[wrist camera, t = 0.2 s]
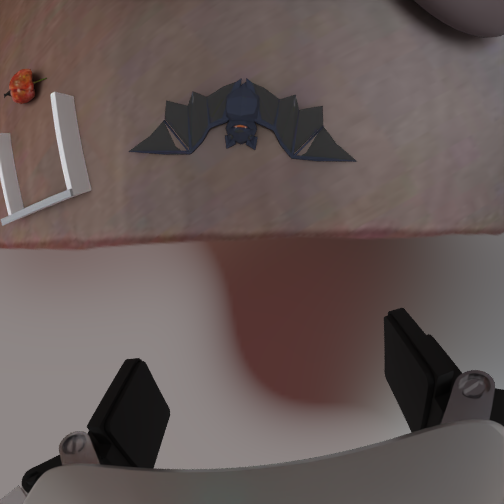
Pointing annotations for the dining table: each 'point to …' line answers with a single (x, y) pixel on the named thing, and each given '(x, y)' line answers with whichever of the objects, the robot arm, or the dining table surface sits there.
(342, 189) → the dining table surface
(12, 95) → the pomegranate
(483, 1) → the smooth stone
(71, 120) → the box
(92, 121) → the dining table surface
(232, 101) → the decorative bat
